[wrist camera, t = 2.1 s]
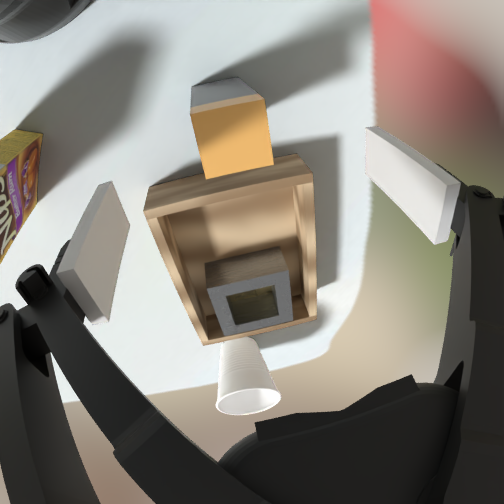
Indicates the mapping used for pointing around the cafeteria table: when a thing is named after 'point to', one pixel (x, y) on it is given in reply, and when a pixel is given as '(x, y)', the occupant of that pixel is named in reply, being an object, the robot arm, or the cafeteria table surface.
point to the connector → (230, 127)
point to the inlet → (250, 290)
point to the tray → (236, 234)
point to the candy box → (17, 183)
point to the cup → (244, 379)
